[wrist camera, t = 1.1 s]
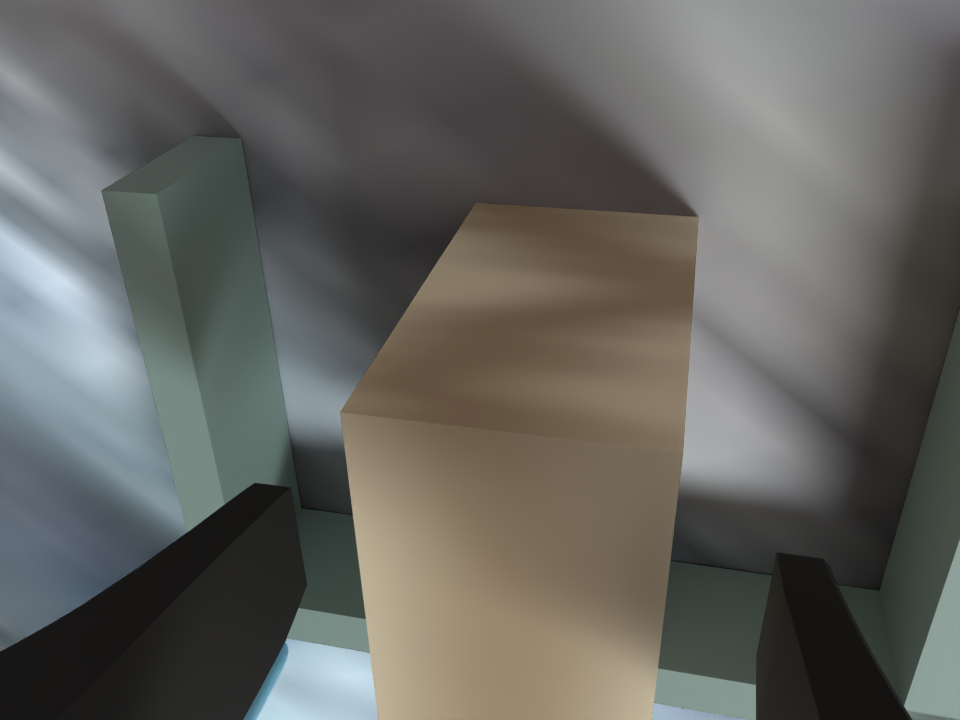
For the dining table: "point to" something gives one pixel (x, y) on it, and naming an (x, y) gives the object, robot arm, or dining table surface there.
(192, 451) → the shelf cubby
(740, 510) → the dining table surface
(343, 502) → the dining table surface
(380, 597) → the block
